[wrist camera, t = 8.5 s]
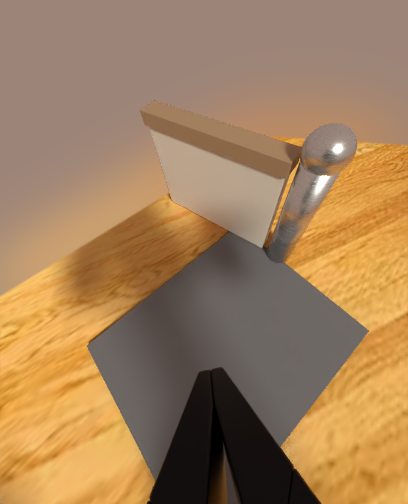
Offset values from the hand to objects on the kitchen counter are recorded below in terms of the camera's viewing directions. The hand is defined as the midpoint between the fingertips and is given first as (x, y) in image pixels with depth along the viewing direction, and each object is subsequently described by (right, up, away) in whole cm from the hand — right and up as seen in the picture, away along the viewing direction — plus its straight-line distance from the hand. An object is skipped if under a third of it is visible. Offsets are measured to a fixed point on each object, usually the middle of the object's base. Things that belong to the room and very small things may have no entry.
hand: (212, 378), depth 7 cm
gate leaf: (+1, +8, +18) cm, 20 cm away
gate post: (+8, +4, +16) cm, 18 cm away
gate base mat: (+1, -4, +12) cm, 13 cm away
